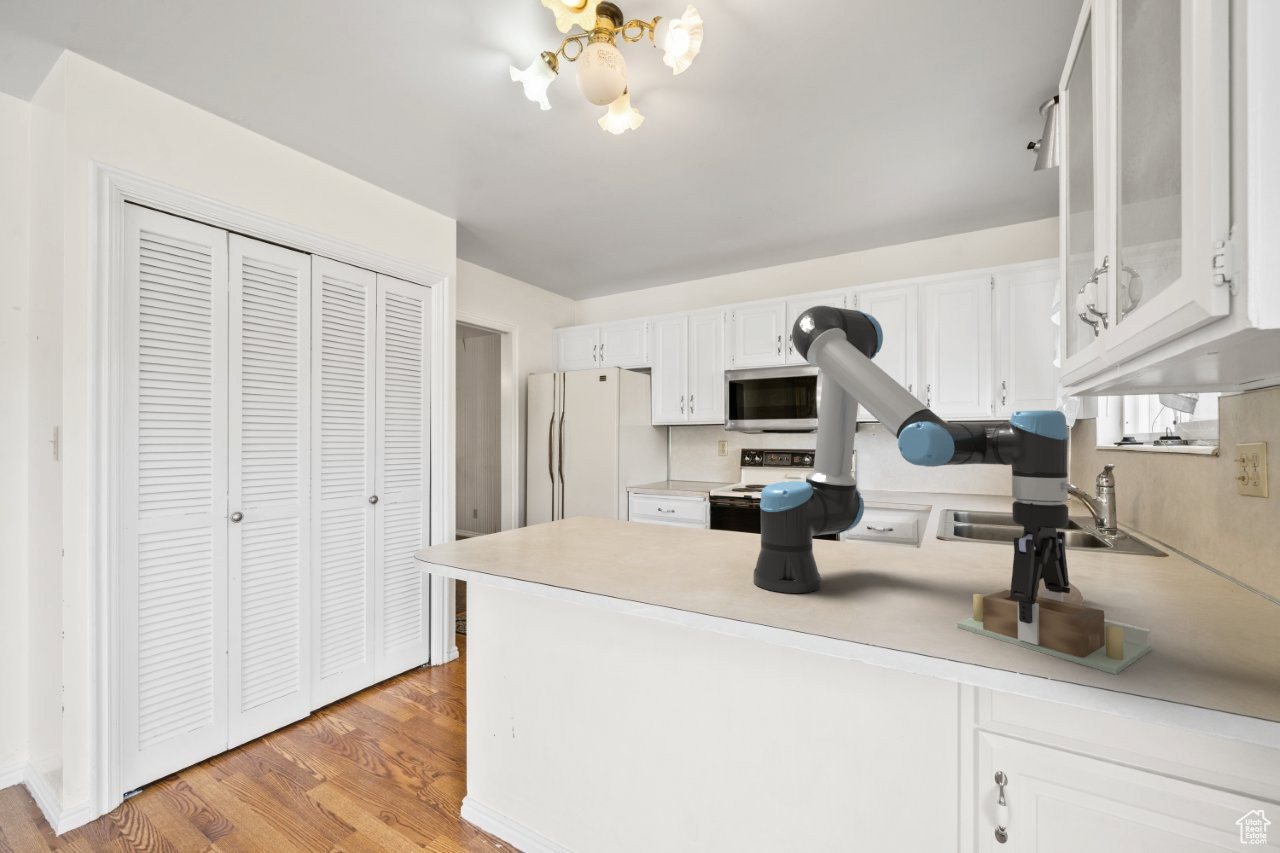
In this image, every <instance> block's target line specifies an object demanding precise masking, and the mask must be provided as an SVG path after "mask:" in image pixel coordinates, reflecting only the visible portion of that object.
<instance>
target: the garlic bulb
mask: <svg viewBox="0 0 1280 853" xmlns="http://www.w3.org/2000/svg"><path fill="white" fill-rule="evenodd" d="M1067 588H1070V593H1069V594H1068V593H1063V592H1061V593H1062V594H1063V602H1066V603H1071V604H1075V605H1080V606H1083V602H1084V597H1083V595H1082V592H1081V590H1079V588H1078V587H1076V586H1075V585H1073V584H1072V583H1071V582H1070V581H1069V586H1068V587H1067ZM1043 590H1048V591H1049V589H1046V587H1045V583H1044V579H1043V578H1042V579H1041V580H1040V581H1039V589H1038V592H1037V595H1038V596H1039V597H1043Z"/></svg>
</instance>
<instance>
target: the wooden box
mask: <svg viewBox="0 0 1280 853" xmlns="http://www.w3.org/2000/svg"><path fill="white" fill-rule="evenodd" d="M1010 593H1011V589H1004V590H1001V591H998V592H995V593H993V594H990V595H985V596H986V597H983V629H984V630H987V631H991V632H994V633H998V634H1001V635H1005V636H1008V637H1012V638H1015V639H1018V601H1017V600H1013V599H1011V598H1010ZM1035 603H1038V604H1039V644H1038V645H1040V646H1043V647H1047V648H1050V649H1054V650H1058V651H1061V652H1065V653H1068V654H1072V655H1075V656H1079V657H1082V658H1084V657H1086V656H1087V655H1089V654H1091V653H1092V652H1094V651H1096V650H1097V649H1099V648H1101V647H1103V646H1104V645H1105V623H1104V619H1105V610H1102V609H1097V608H1093V607H1087V606H1083V605H1081V606H1080V605H1075V604H1071V603H1066V602H1061V601H1057V600H1052V599H1048V598H1043V597H1039V596H1037V597H1036V602H1035Z"/></svg>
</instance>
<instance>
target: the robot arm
mask: <svg viewBox="0 0 1280 853" xmlns="http://www.w3.org/2000/svg"><path fill="white" fill-rule="evenodd" d="M882 329H883V328H882V326H881V323H880V322H879V321H878V320H877V318H876V317H874V316H873V315H871V314H870V313H866V312H863V311H861V310H858V309H857V310H855V309H849V308H848V309H847V308H841V307H833V306H829V305H816V306H812V307H810V308H808V309H806V310H804V311H803V312H802V313H801V314H799V315H798V317H797V318H796V320H795V321H794V324H793V327H792V331H791V339H792V343H793V345H794V348H795V349H796V351H797V353H799V355H800V356H801V357H802V358H803V359H804V360H805V361H806V362H807V363H808V364H809V365H811V366H812V367H814V368H818V369H819V370H820V371H821V372H822V374H823V375H822V382H821V392H820V402H819V403H820V404H819V412H818V424H817V431H816V432H817V433H816V443H815V451H814V460H813V462H814V463H813V470H812V471H811V472H810V473H808V474H807V475H806V477H805V481H798V480H797V481H795V480H793V481H787V482H786V481H781V482H780V481H779V482H776V483H772V484H767V485H766V486H764V487H763V488H762V490H761V493H760V503H759V507H760V552H759V554H758V558H757V562H756V566H755V568H754V569H753V573H752V574H753V579H752V580H753V584H754V585H755V586H757V587H759V588H761V589H764V590H768V591H773V592H779V593H787V594H788V593H789V594H790V593H791V594H803V593H804V594H805V593H810V592H815V591H818V590H820V589H821V587H822V585H821V584H822V579H821V578H822V577H821V574H820V572H819V570H818V565H817V562H816V560H815V556H814V553H813V537H815V536H820V535H821V536H822V535H830V534H831V535H835V534H841V533H844V532H848V531H851V530H852V529H853V528H856V526H858V525H859V523H860V522H861V520H862V519H863V515H864V512H865V503H864V498H863V497H862V496H861V492H860V491H859V490H858V489H857V481H856V479H855V478H854V477H853V476H852V465H853V464H852V463H853V458H854V457H853V456H854V447H855V438H856V437H855V436H856V427H857V419H858V418H857V417H858V410H859V404H860V406H862V407H863V408H864V409H865V410H866V411H867V412H868V413H869V414H870V415H871V416H872V417H874V418H875V420H877V421H878V422H879V423H880V424H881V425H882V426H883V427H885V429H886V430H888V431H889V432H890V433H891V435H893V436H894V437H895V438H896V439H897V440H898V441H897V445H898V449H899V452H900V455H901V457H902V458H903V459H904V460H905V461H906V462H908V463H910V464H911V465H915V466H922V467H931V468H934V467H940V466H942V467H943V466H953V465H954V466H956V465H957V466H959V465H960V466H961V465H1000V466H1001V465H1002V466H1011V497H1012V498H1013V499H1015V501H1013V502H1012V508H1011V509H1012V512H1011V513H1012V522H1014V523H1015V524H1017V525H1021V526H1023V532H1022V533H1023V534H1022V536H1021V537H1014V538H1013V562H1012V572H1011V573H1012V574H1011V585H1010V590H1011V593H1010V598H1011V599H1013V600H1017V601H1018V640H1021V641H1025V642H1028V643H1032V644H1035V645H1038V644H1039V604H1038V603H1035V602H1036V597H1037V592H1038V586H1039V581H1040V576H1041V571H1042V575H1043V579H1044V583H1045V587H1046V589H1049V591H1048V590H1043V598H1048V599H1052V600H1057V601H1061V602H1063V594H1062V593H1061V592H1063V593H1068V594H1069V593H1070V588H1067V587H1068V586H1069V582H1070V581H1069V573H1068V565H1067V564H1068V563H1067V555H1066V547H1065V545H1066V544H1065V543H1066V533H1065V532H1064V531H1058V530H1057V529H1064V528H1067V527H1068V526H1069V523H1070V522H1069V506H1068V505H1067V504H1064V502H1066V501H1068V499H1069V498H1068V494H1069V492H1068V490H1071V489H1072V485H1071V484H1070V483H1068V442H1069V436H1068V429H1067V428H1068V426H1067V418H1066V415H1065V413H1063V412H1062V411H1059V410H1053V409H1052V410H1046V409H1045V410H1044V409H1042V410H1019V411H1018V410H1017V411H1014V412H1012V413H1011V416H1010V418H1011V419H1010V420H1009V421H1010V422H1002V423H996V422H994V423H992V422H991V423H987V422H986V423H983V422H981V423H980V422H979V423H973V422H972V423H971V422H970V423H969V422H967V423H966V422H965V423H964V422H963V423H961V422H959V423H957V422H946V421H944V419H942V418H940V416H939V415H937V414H936V413H934V412H933V411H932V410H931V409H930V408H929V407H928V406H927V405H925V404H924V403H923V402H922V401H920V400H919V399H918V398H917V397H916V396H914V395H913V394H912V393H911V392H909V390H907V389H906V388H905V387H903V385H901V383H899V382H898V381H896V380H895V379H894V378H893V377H891V375H889V374H888V373H887V372H885V370H883V369H882V368H881V367H880V366H878V365H877V364H876V363H874V362H873V361H872V359H874V358H875V357H876V356H877V354H878V353H879V352H880V351H881V349H882V346H883V341H884V333H883V330H882Z"/></svg>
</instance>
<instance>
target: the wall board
mask: <svg viewBox="0 0 1280 853" xmlns="http://www.w3.org/2000/svg"><path fill="white" fill-rule="evenodd" d="M972 596H973V598H972V599H973V600H972V602H973V603H972V604H973V605H972V606H973V607H972V608H973V610H972V611H973V613H972V614H973V616H972V617H969V618H967V619H964V620H960V621H959V622H957V623H956V624H957V626H956V627H957V628H958V629H962V630H965V631H968V632H972V633H976V634H979V635H982V636H986V637H988V638H989V637H990V638H992V639H995V640H998V641H1002V642H1005V643H1009V644H1012V645H1016V646H1019V647H1022V648H1026V649H1029V650H1032V651H1035V652H1036V651H1037V652H1039V653H1042V654H1046V655H1048V656H1053V657H1056V658H1059V659H1063V660H1067V661H1070V662H1073V663H1076V664H1080V665H1083V666H1087V667H1090V668H1094V669H1097V670H1100V671H1102V672H1103V671H1104V672H1106V673H1110V674H1112V675H1113V674H1114V675H1117V674H1119V673H1120V672H1122V671H1123V670H1124V669H1126V668H1127V667H1129V666H1130V665H1131V664H1133V663H1134V662H1136V661H1137V660H1139V659H1140V658H1142V657H1143V656H1145V655H1146V654H1147V653H1149V652H1150V651H1151V650H1152V647H1151V646H1152V642H1151V641H1152V639H1151V638H1152V637H1151V636H1152V634H1151V633H1152V632H1151V629H1150V628H1145V627H1141V626H1137V625H1132V624H1128V623H1124V622H1120V621H1116V620H1113V619H1111V620H1110V619H1107V618H1104V623H1105V645H1104V646H1103V647H1101V648H1099V649H1097V650H1096V651H1094V652H1092V653H1091V654H1089V655H1087V656H1086V657H1084V658H1082V657H1079V656H1075V655H1072V654H1068V653H1065V652H1061V651H1058V650H1054V649H1050V648H1047V647H1043V646H1040V645H1035V644H1032V643H1028V642H1025V641H1021V640H1018V639H1015V638H1012V637H1008V636H1005V635H1001V634H998V633H994V632H991V631H987V630H984V629H983V597H986V596H987V595H985V594H982V593H973V594H972Z"/></svg>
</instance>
